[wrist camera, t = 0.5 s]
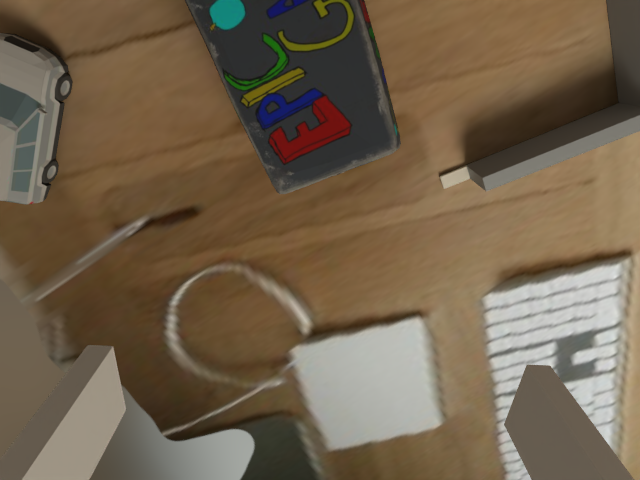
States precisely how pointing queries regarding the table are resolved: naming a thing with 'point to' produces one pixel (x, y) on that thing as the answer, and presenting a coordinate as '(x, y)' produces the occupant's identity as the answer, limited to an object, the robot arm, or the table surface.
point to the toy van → (302, 83)
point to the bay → (583, 134)
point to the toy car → (29, 117)
